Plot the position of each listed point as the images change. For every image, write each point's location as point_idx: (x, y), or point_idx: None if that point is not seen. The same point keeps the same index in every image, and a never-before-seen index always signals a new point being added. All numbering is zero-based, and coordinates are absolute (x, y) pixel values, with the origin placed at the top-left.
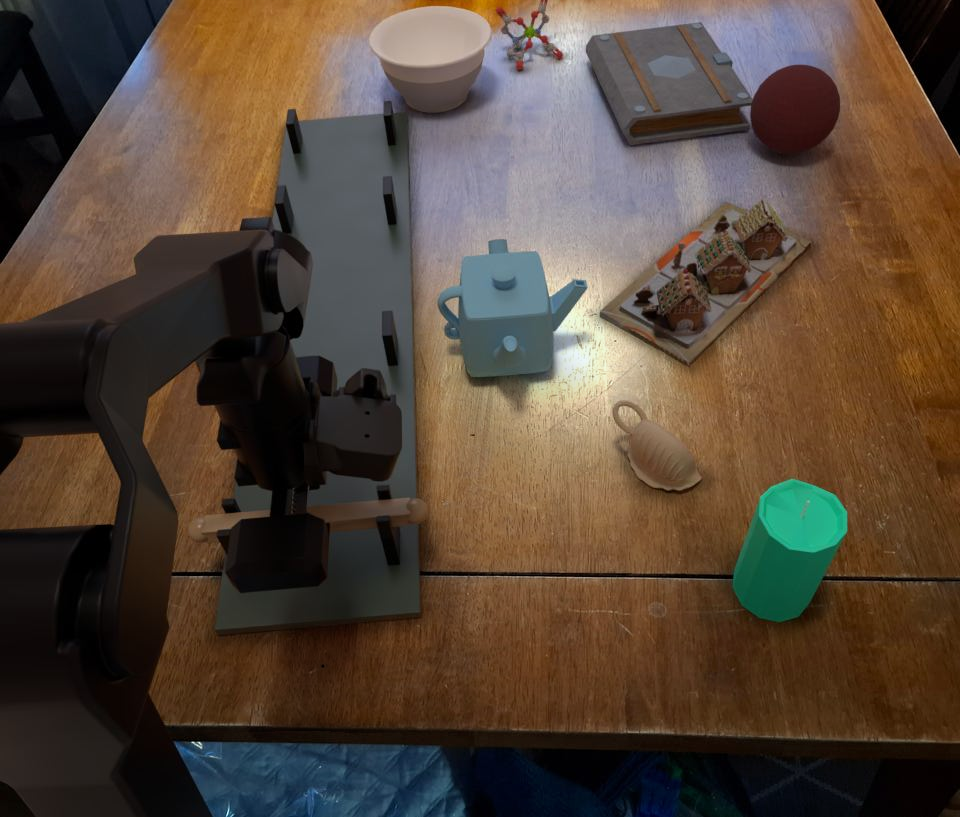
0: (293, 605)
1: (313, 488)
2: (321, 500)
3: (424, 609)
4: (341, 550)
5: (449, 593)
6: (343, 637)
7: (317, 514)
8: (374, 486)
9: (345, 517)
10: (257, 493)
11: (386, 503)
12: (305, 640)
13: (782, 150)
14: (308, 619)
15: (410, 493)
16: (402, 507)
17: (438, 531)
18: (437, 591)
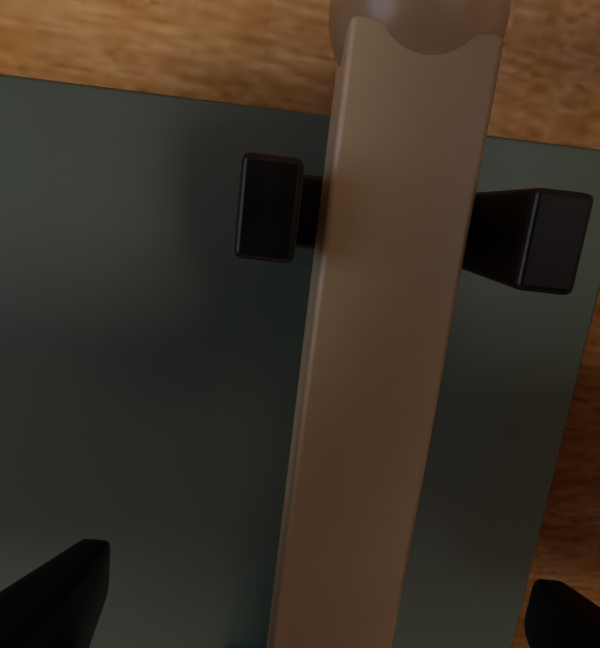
0: (476, 550)
1: (106, 572)
2: (95, 452)
3: (577, 142)
4: None
5: (546, 40)
6: (586, 405)
7: (341, 621)
8: (55, 258)
9: (404, 474)
10: None
11: (366, 202)
12: (560, 506)
13: None
14: (539, 512)
15: (109, 115)
16: (429, 86)
17: (283, 38)
18: (526, 84)
